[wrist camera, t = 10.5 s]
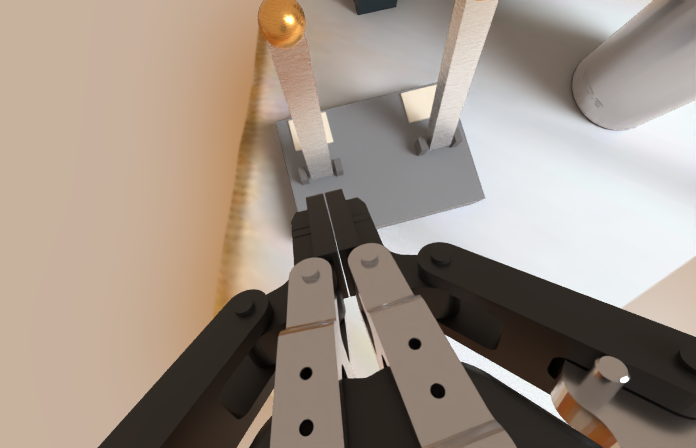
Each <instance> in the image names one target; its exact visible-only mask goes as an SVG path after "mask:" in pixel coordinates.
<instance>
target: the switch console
mask: <svg viewBox="0 0 696 448" xmlns="http://www.w3.org/2000/svg"><path fill="white" fill-rule="evenodd" d="M436 87H437V83H433V84H428V85H424V86H420V87H416V88H412V89H408V90H404V91H400V92H396V93H391V94H387V95H383V96H379V97H375V98H371V99H367V100H363V101H359V102H355V103H350V104H346V105H342V106H338V107H334V108H330V109H326V110H322V111H321V115H322V120H323V125H324V130H325V135H326V140H327V145H328V150H329V154H330V159H331V164H332V169H333V174H334V175H331V176H327V177H323V178H319V179H315V180H312V179H311V176H310V173H309V170H308V166H307V163H306V160H305V157H304V154H303V151H302V148H301V145H300V142H299V139H298V135H297V132H296V129H295V126H294V123H293V120H292V118H289V119H285V120H281V121H277V122H276V126H277V130H278V134H279V138H280V142H281V146H282V151H283V155H284V159H285V163H286V167H287V171H288V175H289V179H290V183H291V187H292V191H293V195H294V199H295V203H296V207H297V211H298V212H300V211H304V210H307V204H306V197H309V196H313V195H317V194H322V193H323V195H324V199H325V203H326V206H327V210H328V214H329V218H330V222H331V217H330V213H329V209H328V205H327V201H326V197H325V192H329V191H333V190H337V189H341V188H342V191H343V194H344V197H345V200H348V199H352V198H356V197H358V198H359V199H361V200H362V201H363V202H365V204H366V206H367V208H368V211H369V213H370V215H371V218H372V220H373V222H374V225H375V227H376V229H378V228H382V227H386V226H390V225H394V224H398V223H401V222H405V221H409V220H413V219H417V218H420V217H424V216H428V215H432V214H436V213H440V212H443V211H447V210H451V209H455V208H459V207H462V206H466V205H470V204H473V203H475V202H478V201H480V200H482V199H484V198H485V196H484V193H483V190H482V187H481V183H480V180H479V177H478V174H477V171H476V168H475V165H474V162H473V158H472V155H471V152H470V149H469V146H468V143H467V140H466V136H465V133H464V130H463V127H462V124H461V121H460V118H459V121H458V124H457V127H456V130H455V133H454V136H453V139H452V142H451V145H449V146H445V147H441V148H437V149H433V150H429V149H428V146H427V142H426V139H425V137H426V133H427V128H428V123H429V119H430V114H431V110H432V105H433V100H434V96H435V91H436ZM331 225H332V222H331ZM332 229H333V226H332ZM333 233H334V230H333ZM334 237H335V234H334ZM335 240H336V238H335Z"/></svg>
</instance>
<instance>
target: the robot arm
mask: <svg viewBox="0 0 696 448" xmlns="http://www.w3.org/2000/svg"><path fill="white" fill-rule="evenodd" d="M572 91H573V95H574V99H575V101H576V103H577V105H578V107H579V108H580V110H581V111H582V112H583V114H584V115H585V116H586V117H587V118H589V119H590V120H591V121H592V122H594V123H596V124H597V125H599V126H602V127H604V128H607V129H612V130H628V129H631V128H635V127H637V126H639V125H642V124H644V123H646V122H648V121H650V120H653V119H655V118H657V117H659V116H661V115H664V114H666V113H668V112H670V111H672V110H675V109H677V108H679V107H682V106H684V105H686V104H688V103H690V102H693V101H695V100H696V0H653V1H652V2H651V3H650V4H649V5H647V6H646V7H645V8H644V9H643V10H641V11H640V12H639V13H638V14H637V15H635V16H634V17H633V18H632V19H631V20H629V21H628V22H627V23H626V24H625V25H624V26H622V27H621V28H620V29H619V30H617V31H616V32H615V33H614V34H613V35H611V36H610V37H609V38H608V39H607V40H606V41H604V42H603V43H602V44H601V45H600V46H598V47H597V48H596V49H595V50H594V51H593V52H591V53H590V54H589V55H588V56H587V57H585V58H584V59H583V60H582V61H581V62H580V64H579V65H578V66H577V68H576V70H575V73H574V76H573V81H572ZM325 197H326V201H327V205H328V209H329V213H330V217H331V222H332V225H331V222H330V218H329V214H328V210H327V206H326V203H325V199H324V195H323V193H322V194H317V195H313V196H309V197H306V204H307V210H304V211H300V212H296V213H295V215H294V217H293V219H292V221H291V224H292V238H293V254H294V267H293V269H292V270H291V272H290V274H289V280H288V281H287V282H286V283H285V284H284V285H282V286H281V287H279V288H278V289H276V290H274V291H272V292H270V293H269V294H267V295H266V294H265V293H264V292H262V291H260V290H254V289H253V290H246V291H244V292H241V293H239V294H237V295H236V296H234V297H233V298H232V299H231V300H230V301H229V302H228V303H227V304H226V305H225V306H224V307H223V309H222V310H221V311H220V312H219V313H218V314H217V315H216V316H215V317H214V319H213V320H212V321H211V322H210V323H209V324H208V325H207V326H206V327H205V329H204V330H203V331H202V332H201V333H200V334H199V335H198V336H197V338H196V339H195V340H194V341H193V342H192V343H191V344H190V345H189V347H188V348H187V349H186V350H185V351H184V352H183V353H182V354H181V355H180V357H179V358H178V359H177V360H176V361H175V362H174V363H173V364H172V365H171V367H170V368H169V369H168V370H167V371H166V372H165V373H164V374H163V375H162V377H161V378H160V379H159V380H158V381H157V382H156V383H155V384H154V385H153V387H152V388H151V389H150V390H149V391H148V392H147V393H146V394H145V396H144V397H143V398H142V399H141V400H140V401H139V402H138V404H136V406H135V407H134V408H133V409H132V410H131V411H130V412H129V413H128V415H127V416H126V417H125V418H124V419H123V420H122V421H121V422H120V423H119V425H118V426H117V427H116V428H115V429H114V430H113V431H112V432H111V434H110V435H109V436H108V437H107V438H106V439H105V440H104V441H103V442H102V444H101V445H100V446H99V447H98V448H237V446H238V444H239V443H240V441H241V439H242V438H243V436H244V435H245V433H246V432H247V430H248V428H249V427H250V425H251V424H252V422H253V421H254V419H255V417H256V416H257V414H258V413H259V411H260V410H261V408H262V406H263V405H264V403H265V402H266V400H267V398H268V397H269V395H270V394H271V392H272V390H273V389H274V400H273V415H272V416H271V417H270V418H269V420H268V421H267V422H266V423H265V424H264V426H263V427H262V428H261V429H260V431H259V432H258V434H257V435H256V437H255V439H254V440H253V442H252V444H251V445H250V447H249V448H696V337H694V336H692V335H689V334H686V333H683V332H681V331H678V330H676V329H673V328H671V327H668V326H665V325H663V324H660V323H657V322H655V321H652V320H649V319H647V318H644V317H641V316H639V315H636V314H634V313H631V312H628V311H626V310H623V309H620V308H618V307H615V306H613V305H610V304H607V303H605V302H602V301H599V300H597V299H594V298H591V297H589V296H586V295H584V294H581V293H578V292H576V291H573V290H570V289H568V288H565V287H562V286H560V285H557V284H555V283H552V282H549V281H547V280H544V279H541V278H539V277H536V276H533V275H531V274H528V273H526V272H523V271H520V270H518V269H515V268H512V267H510V266H507V265H505V264H502V263H499V262H497V261H494V260H491V259H489V258H486V257H483V256H481V255H478V254H476V253H473V252H470V251H468V250H465V249H462V248H460V247H457V246H454V245H452V244H449V243H443V242H436V243H431V244H428V245H426V246H424V247H423V248H422V249H421V250H420V251H419V253H418V255H400V254H396V253H393V252H391V251H389V250H388V249H387V248H386V247H384V245H383V244H382V241H381V239H380V237H379V234H378V232H377V230H376V227H375V225H374V222H373V220H372V218H371V215H370V213H369V211H368V208H367V206H366V204H365V202H363V201H362V200H361V199H359V198H358V197H356V198H352V199H348V200H345V197H344V194H343V191H342V188H341V189H337V190H333V191H329V192H325ZM332 226H333V229H332ZM333 230H334V233H333ZM334 234H335V237H334ZM335 238H336V242H337V246H338V250H339V254H340V258H341V262H342V266H343V270H344V273H345V277H346V281H347V285H348V289H349V293H350V297H351V296H355V295H356V298H357V302H358V305H359V310H360V314H361V317H362V320H363V322H364V325H365V328H366V331H367V334H368V336H369V339H370V342H371V345H372V348H373V350H374V353H375V356H376V359H377V362H378V365H379V368H380V371H378V372H376V373H375V374H373V375H371V376H369V377H367V378H354V373H353V368H352V360H351V352H350V344H349V336H348V328H347V320H346V316H345V312H346V310H345V305H344V300H343V299H344V298H348V297H349V296H348V292H347V288H346V284H345V279H344V275H343V271H342V267H341V263H340V258H339V254H338V250H337V246H336V242H335ZM444 334H445V335H447V336H448V337H450V338H452V339H454V340H455V341H457V342H459V343H461V344H462V345H464V346H466V347H468V348H469V349H471V350H473V351H475V352H476V353H478V354H480V355H482V356H483V357H485V358H487V359H489V360H490V361H492V362H494V363H496V364H497V365H499V366H501V367H503V368H504V369H506V370H508V371H510V372H511V373H513V374H515V375H517V376H518V377H520V378H522V379H524V380H525V381H527V382H529V383H531V384H532V385H534V386H536V387H538V388H539V389H541V390H543V391H545V392H546V393H548V394H550V395H551V398H552V402H553V404H554V406H555V408H556V410H557V412H558V413H559V414H560V416H561V417H562V418H563V419H564V420H565V421H566V422H567V423H568V424H569V425H568V424H566V423H565V422H563V421H562V420H560V419H559V418H557V417H555V416H554V415H552V414H551V413H549V412H548V411H546V410H544V409H543V408H541V407H540V406H538V405H537V404H535V403H534V402H532V401H530V400H529V399H527V398H526V397H524V396H523V395H521V394H519V393H518V392H516V391H515V390H513V389H512V388H510V387H508V386H507V385H505V384H504V383H502V382H501V381H499V380H498V379H496V378H494V377H493V376H491V375H490V374H488V373H486V372H485V371H483V370H481V369H479V368H477V367H475V366H472V365H469V364H467V363H464V362H460V360H459V359H458V357H457V355H456V354H455V352H454V350H453V349H452V347H451V345H450V343H449V342H448V340H447V338H446V337H445V335H444ZM571 426H572V427H571ZM574 428H575V429H574Z"/></svg>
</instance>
